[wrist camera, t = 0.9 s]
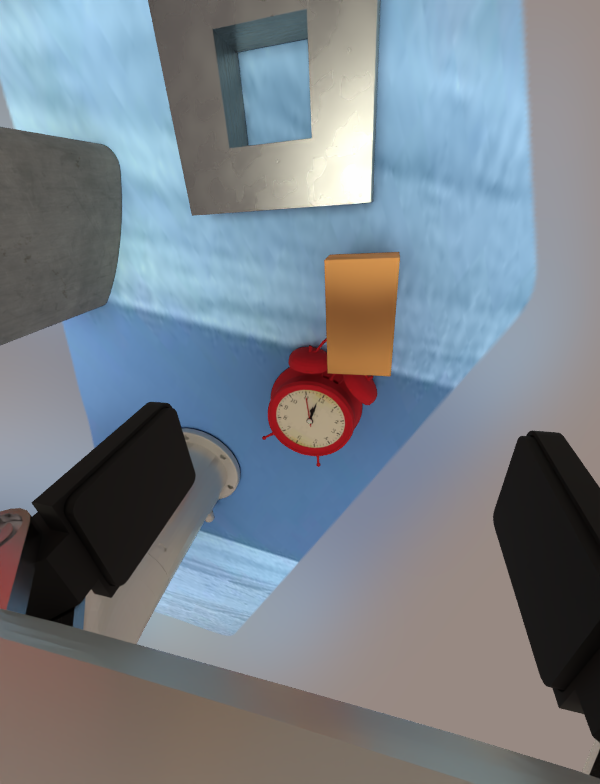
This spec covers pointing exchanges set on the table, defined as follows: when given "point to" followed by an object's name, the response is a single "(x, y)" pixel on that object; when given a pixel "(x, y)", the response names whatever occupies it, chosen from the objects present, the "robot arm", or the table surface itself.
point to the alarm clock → (316, 404)
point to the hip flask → (55, 229)
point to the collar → (226, 109)
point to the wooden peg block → (361, 312)
